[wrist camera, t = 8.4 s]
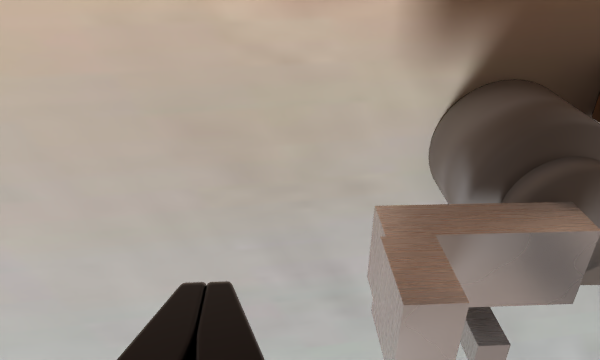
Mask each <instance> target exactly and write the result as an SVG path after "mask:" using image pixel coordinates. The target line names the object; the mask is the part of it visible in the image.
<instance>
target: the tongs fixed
mask: <svg viewBox="0 0 600 360" xmlns="http://www.w3.org/2000/svg"><path fill="white" fill-rule="evenodd" d="M592 118H594V119H595V120H597V121H598V122H600V94H599V97H598V100H597V103H596V106H595V109H594V112H593V115H592ZM592 118H590V117H589V116H587V115H586V114H584V113H583V112H581V111H580V110H578V109H577V108H575V107H574V106H572V105H571V104H569V103H568V102H566V101H565V100H564V99H562V98H561V97H559V96H558V95H556V94H555V93H553V92H552V91H550V90H549V89H547V88H545V87H544V86H542V85H540V84H537V83H534V82H530V81H525V80H503V81H498V82H494V83H491V84H487V85H485V86H482V87H480V88H478V89H476V90H474V91H472V92H471V93H469V94H467V95H466V96H464V97H463V98H462V99H460V100H459V101H458V102H457V103H456V104H455V105H453V106H452V107H451V108H450V109H449V111H448V112H447V113H446V114H445V115H444V117H443V118H442V120H441V121H440V122H439V124H438V126H437V128H436V130H435V132H434V134H433V137H432V140H431V144H430V148H429V166H430V170H431V174H432V176H433V179H434V180H435V182H436V184H437V185H438V187H439V189H440V190H441V192H442V194H443V195H444V197H445V199H446V200H447V202H448V204H484V203H502V201H503V199H504V197H505V196H506V194H507V193H508V191H509V190H510V189H511V188H512V186H513V185H514V184H515V183H516V182H517V181H518V180H519V179H520V178H522V177H523V176H524V175H525V174H527V173H528V172H530V171H531V170H533V169H534V168H536V167H538V166H540V165H542V164H544V163H547V162H549V161H552V160H555V159H559V158H564V157H572V156H581V157H589V158H593V159H596V160H599V161H600V124H599V123H598V122H596V121H595V120H593V119H592Z"/></svg>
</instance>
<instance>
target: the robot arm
mask: <svg viewBox="0 0 600 360" xmlns="http://www.w3.org/2000/svg"><path fill="white" fill-rule="evenodd" d="M117 360H264V357H263V355H262V353H261V350H260V348H259V346H258V343H257V341H256V339H255V336H254V334H253V332H252V329H251V327H250V325H249V323H248V320H247V318H246V316H245V313H244V311H243V309H242V306H241V304H240V302H239V299H238V297H237V295H236V292H235V290H234V288H233V285H232V284H231V283H230V282H210V283H208V284H207V285H206V284H205V283H204V282H194V283H183V284H182V285H180V286H179V287H178V289H177V290H176V291H175V292H174V293H173V295H172V296H171V297H170V298H169V299H168V300H167V302H166V303H165V304H164V305H163V306H162V307H161V309H160V310H159V311H158V312H157V313H156V314H155V316H154V317H153V318H152V319H151V320H150V322H149V323H148V324H147V325H146V326H145V327H144V329H143V330H142V331H141V332H140V333H139V334H138V336H137V337H136V338H135V339H134V340H133V341H132V343H131V344H130V345H129V346H128V347H127V349H126V350H125V351H124V352H123V353H122V354H121V356H120V357H119V358H118V359H117Z"/></svg>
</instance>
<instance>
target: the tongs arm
mask: <svg viewBox="0 0 600 360" xmlns="http://www.w3.org/2000/svg"><path fill="white" fill-rule="evenodd" d="M529 202H573V203H574V204H575V205H576V206H577V207H578V208H579V209H580V210H581V211H582V212H583V213H584V214H585V215H586V216H587V217H588V218H589V219H590V220H591V221H592V222H593V223H594V224H595V225H596V226H597V227H598V228H599V229H600V161H599V160H596V159H593V158H589V157H581V156H572V157H564V158H559V159H555V160H552V161H549V162H547V163H544V164H542V165H540V166H538V167H536V168H534V169H533V170H531V171H530V172H528V173H527V174H525V175H524V176H523V177H522V178H520V179H519V180H518V181H517V182H516V183H515V184H514V185H513V186H512V188H511V189H510V190H509V191H508V193H507V194H506V196H505V197H504V199H503V201H502V203H529ZM580 285H600V236H599V238H598V241H597V243H596V246H595V248H594V251H593V253H592V256H591V259H590V261H589V264H588V266H587V269H586V271H585V274H584V276H583V279H582V281H581V284H580Z"/></svg>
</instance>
